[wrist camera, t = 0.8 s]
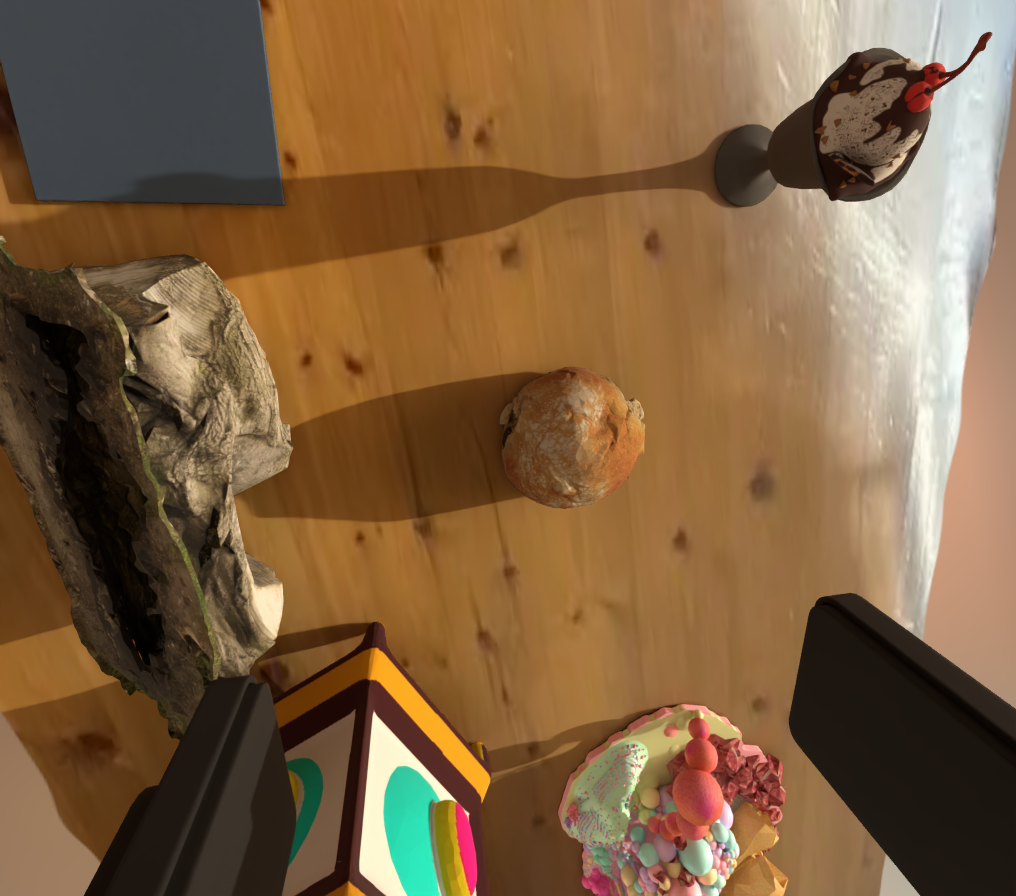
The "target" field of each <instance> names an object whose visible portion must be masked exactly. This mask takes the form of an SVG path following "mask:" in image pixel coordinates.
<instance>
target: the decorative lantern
mask: <svg viewBox="0 0 1016 896" xmlns="http://www.w3.org/2000/svg"><path fill="white" fill-rule="evenodd" d="M273 703H274V708H275V713H276V717H277V722H278V726H279V731H280V736H281V740H282V745H283V750H284V754H285V759H286V763H287V768H288V773H289V777H290V782H291V786H292V791H293V796H294V800H295V805H296V830H295V836H294V841H293V845H292V850H291V855H290V860H289V864H288V869H287V874H286V879H285V883H284V888H283V893H282V896H490V891H489V883H488V875H487V867H486V858H485V850H484V842H483V834H482V826H481V818H480V809H481V804H482V801H483V799H484V796H485V794H486V791H487V788H488V786H489V783H490V780H491V766H490V760H489V756H488V753H487V750H486V748H485V746H484V745H483V744H482V743H480V742H476V743H473V744H472V745H471V746H470V745H469V744H468V743H467V742H466V741H465V740H464V738H463V737H462V736H461V735H460V734H459V733H458V731H457V730H456V729H455V728H454V727H453V726H452V725H451V723H450V722H449V721H448V720H447V719H446V718H445V716H444V715H443V714H442V713H441V712H440V711H439V709H438V708H437V707H436V706H435V705H434V704H433V702H432V701H431V700H430V699H429V698H428V697H427V695H426V694H425V693H424V692H423V691H422V690H421V688H420V687H419V686H418V685H417V684H416V683H415V681H414V680H413V679H412V678H411V677H410V676H409V674H408V673H407V672H406V671H405V670H404V669H403V668H402V666H401V665H400V664H399V663H398V662H397V661H396V659H395V658H394V657H393V655H392V654H391V652H390V650H389V648H388V647H387V645H386V637H385V630H384V627H383V625H382V624H381V623H379V622H373V623H371V624H370V625H369V627H368V628H367V631H366V634H365V636H364V639H363V641H362V643H361V644H360V645H359V646H358V647H357V648H356V649H355V650H353V651H352V652H351V653H349V654H348V655H346V656H344V657H343V658H341V659H339V660H338V661H336V662H334V663H333V664H331V665H329V666H328V667H326V668H324V669H323V670H321V671H319V672H318V673H316V674H314V675H313V676H311V677H309V678H308V679H306V680H304V681H303V682H301V683H299V684H298V685H296V686H294V687H293V688H291V689H289V690H288V691H286V692H284V693H283V694H281V695H279V696H278V697H276V698H274V699H273Z"/></svg>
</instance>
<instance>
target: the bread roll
mask: <svg viewBox="0 0 1016 896" xmlns="http://www.w3.org/2000/svg"><path fill="white" fill-rule="evenodd" d="M512 402H513V403H509V404H507V405H506V406H505V408H504V410H503V412H502V414H501V416H500V425H504V430H503V441H502V448H501V449H502V455H501V457H502V460H503V464H504V469H505V472H506V475H507V477H508V478H509V480H510V481H511V483H512V484H513V485H514V486H515V487H516V488H517V490H518V491H520V492H521V493H522V494H523V495H525V496H526V497H528V498H529V499H531V500H534V501H536V502H537V503H540V504H543V505H546V506H548V507H553V508H563V509H566V508H575V507H579V506H584V505H590V504H593V503H595V502H597V501H599V500H600V499H602V498H604V497H606V496H608V495H609V494H610V493H611V492H613V491H614V490H615V489H617V488H618V487H619V486H620V485H621V484H622V483H623V482H624V481H625V480H626V478H628V476H629V474H630V472H631V470H632V468H633V466H634V465H635V463H636V461H637V460H638V458H639V456H641V455H642V454H643V453H644V434H645V425H644V423H642V422H641V420H642V419H643V418H644V413H643V409H642V407H641V404H640V402H638V401H637V400H636V399H635V398H633V399H632V400H630V401H627V400H625V398H624V396H623V394H622V393H621V392H620V390H619V388H618V387H617V385H614V384H613V382H612V381H611V379H610V378H608V377H605V376H602V375H598V374H596V373H594V372H593V371H592V370H591V369H590V370H588V369H584V368H577V367H564V368H562V369H558V370H556V371H554V372H549V373H548V374H547V375H545V376H543V377H541V378H538V379H535V380H533V381H531V382H530V383H528V384H527V385H525V386H524V387H523V388H522V389H521V390H520V392H519V393H518V395H517V396H516V397H515V398H514V399H513V400H512Z"/></svg>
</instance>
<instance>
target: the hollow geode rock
mask: <svg viewBox="0 0 1016 896" xmlns="http://www.w3.org/2000/svg"><path fill="white" fill-rule="evenodd" d="M4 243H6V241H5V239H4V238H3V236H1V235H0V444H1V446H2V447H3V449H4V450H5V452H6V453H7V455H8V457H9V459H10V462H11V464H12V466H13V468H14V470H15V472H16V475H17V477H18V479H19V480H20V482H21V484H22V485H23V487H24V489H25V491H26V493H27V495H28V498H29V502H30V504H31V506H32V508H33V512H34V516H35V518H36V521H37V523H38V525H39V528H40V530H41V531H42V533H43V535H44V537H45V538H46V543H47V547H48V551H49V553H50V555H51V558H52V560H53V562H54V564H55V566H56V568H57V570H58V572H59V573H60V575H61V576H62V579H63V582H64V584H65V587H66V590H67V591H68V593H69V594H70V597H71V600H72V604H71V615H72V620H73V624H74V626H75V628H76V630H77V632H78V635H79V638H80V640H81V643H82V644H83V645H84V646H85V647H86V648H87V650H88V652H89V653H90V655H91V656H92V657H93V658H94V659H95V660H96V662H97V663H98V665H99V666H100V669H101V671H102V672H104V673H105V674H106V675H111V676H114V677H115V678H117V679H118V680H120V682H121V686H122V688H123V689H124V690H125V692H126V693H127V694H129V695H130V696H131V695H132V694H133V693H134V692H135V691H136V689H137V691H138V692H141V693H144V694H146V695H147V696H148V697H149V698H151V699H155V700H156V701H157V703H158V709H159V712H160V715H161V716H162V717H164V718H166V719H168V732H169V735H170V736H171V738H172V739H173V738H177V739H179V740H180V741H181V739H182V737H183V735H184V733H185V731H186V729H187V727H188V725H189V723H190V721H191V719H192V717H193V715H194V713H195V711H196V709H197V707H198V705H199V703H200V701H201V699H202V697H203V695H204V693H205V691H206V689H207V687H208V685H209V684H210V682H212V681H213V680H215V679H223V678H230V677H237V676H245V675H250V668H251V667H252V666H253V664H254V662H255V660H256V659H258V658H259V657H260V656H262V655H263V654H264V653H265V652H267V651H268V650H269V649H270V648H271V647H272V646H273V645H274V644H275V643H276V642H275V641H273V640H275V639H276V638H277V634H278V630H279V626H280V622H281V618H282V611H283V604H284V601H283V589H282V582H280V581H279V580H278V579H276V578H275V573H274V570H273V569H272V568H271V567H269V566H268V565H266V564H264V563H262V562H260V561H258V560H256V559H255V558H253V557H252V556H250V555H249V554H247V553H246V552H245V551H244V546H243V541H242V537H241V532H240V527H239V522H238V518H237V513H236V508H235V502H234V498H233V496H235V495H237V494H239V493H241V492H242V491H244V490H246V489H248V488H250V487H252V486H254V485H256V484H258V483H260V482H262V481H264V480H266V479H268V478H270V477H271V476H273V475H275V474H277V473H279V472H281V471H283V470H285V469H287V468H288V464H289V457H290V455H291V452H292V449H293V445H292V441H291V436H290V425H289V424H283V423H282V422H281V420H280V416H279V404H278V395H277V388H276V385H275V382H274V379H273V376H272V373H271V369H270V366H269V363H268V361H267V360H266V359H265V358H266V354H265V352H264V351H263V350H262V348H261V347H260V345H259V343H258V340H257V338H256V336H255V333H254V332H253V330H252V329H251V327H250V325H249V324H248V322H247V319H246V317H245V314H244V312H243V309H242V308H241V307H240V300H238V299H237V298H236V297H235V296H234V295H233V294H232V293H231V292H229V291H228V290H227V289H226V287H225V285H224V283H223V282H222V280H221V279H220V278H219V277H218V276H217V275H216V273H215V272H214V271H213V270H212V269H211V268H210V267H209V266H208V265H207V264H206V263H205V262H202V261H200V260H198V259H197V258H195V257H192V256H189V255H186V254H180V255H170V256H163V257H156V258H149V259H143V260H137V261H131V262H127V263H123V264H119V265H115V266H92V267H78V268H72V267H73V266H74V264H75V263H72V264H71V265H69V266H68V267H66V268H65V269H62V270H55V271H51V272H49V271H45V270H41V269H39V270H34V269H30V268H26V267H22V266H19V265H17V264H16V263H15V260H14V258H13V255H11V254H10V253H9V252H8V251H7V250H6V249H5V248H4V247H3V246H2V245H3V244H4ZM45 339H46V340H49V343H50V344H49V343H48V342H47V341H46V340H45ZM127 629H128V630H127ZM132 639H133V640H134V641H135V645H134V643H133V640H132ZM135 646H136V647H135ZM139 653H140V655H141V657H140V655H139ZM141 658H142V659H141Z"/></svg>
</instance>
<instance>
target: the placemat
mask: <svg viewBox="0 0 1016 896" xmlns="http://www.w3.org/2000/svg"><path fill="white" fill-rule="evenodd" d="M0 62H1V65H2V69H3V73H4V77H5V81H6V85H7V89H8V92H9V96H10V100H11V104H12V108H13V112H14V116H15V120H16V123H17V127H18V131H19V135H20V139H21V143H22V147H23V150H24V154H25V158H26V162H27V166H28V170H29V174H30V177H31V181H32V185H33V189H34V193H35V197H36V200H40V201H82V202H133V203H185V204H237V205H285V201H284V193H283V185H282V177H281V168H280V160H279V152H278V144H277V136H276V128H275V120H274V112H273V104H272V95H271V87H270V79H269V71H268V63H267V55H266V47H265V39H264V30H263V22H262V14H261V6H260V0H0Z"/></svg>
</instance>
